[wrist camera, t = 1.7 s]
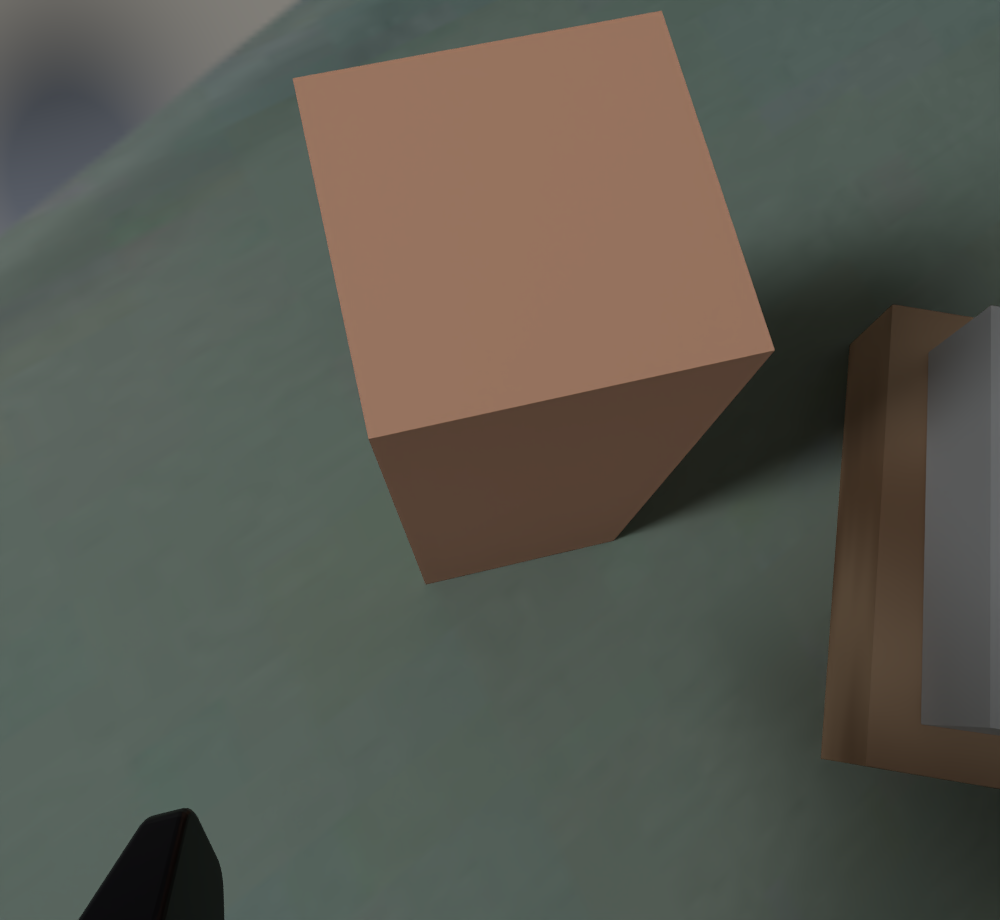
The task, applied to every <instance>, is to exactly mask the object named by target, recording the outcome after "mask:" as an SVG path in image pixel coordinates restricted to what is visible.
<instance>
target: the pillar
mask: <svg viewBox="0 0 1000 920" xmlns="http://www.w3.org/2000/svg"><path fill="white" fill-rule="evenodd" d="M293 82H294V86H295V91H296V96H297V101H298V105H299V110H300V115H301V120H302V124H303V129H304V134H305V139H306V144H307V148H308V153H309V158H310V163H311V167H312V172H313V177H314V182H315V186H316V191H317V196H318V201H319V205H320V210H321V215H322V220H323V224H324V229H325V234H326V239H327V243H328V248H329V253H330V258H331V262H332V267H333V272H334V277H335V281H336V286H337V291H338V296H339V300H340V305H341V310H342V315H343V319H344V324H345V329H346V334H347V338H348V343H349V348H350V353H351V357H352V362H353V367H354V372H355V376H356V381H357V386H358V391H359V395H360V400H361V405H362V410H363V414H364V419H365V424H366V429H367V433H368V438H369V441H370V444H371V446H372V449H373V451H374V454H375V456H376V459H377V461H378V464H379V467H380V469H381V472H382V474H383V477H384V479H385V482H386V484H387V487H388V489H389V492H390V495H391V497H392V500H393V502H394V505H395V507H396V510H397V512H398V515H399V517H400V520H401V522H402V525H403V528H404V530H405V533H406V535H407V538H408V540H409V543H410V545H411V548H412V550H413V553H414V556H415V558H416V561H417V563H418V566H419V568H420V571H421V573H422V576H423V578H424V581H425V584H430V583H434V582H438V581H443V580H447V579H451V578H455V577H460V576H464V575H468V574H473V573H477V572H481V571H485V570H490V569H494V568H498V567H503V566H507V565H511V564H515V563H520V562H524V561H528V560H533V559H537V558H541V557H545V556H550V555H554V554H558V553H563V552H567V551H571V550H575V549H580V548H584V547H588V546H593V545H597V544H601V543H605V542H610V541H614V540H615V538H616V537H617V536H618V535H619V534H620V532H621V531H622V530H623V529H624V528H625V527H626V525H627V524H628V523H629V522H630V521H631V519H632V518H633V517H634V516H635V515H636V514H637V512H638V511H639V510H640V509H641V508H642V507H643V505H644V504H645V503H646V502H647V501H648V499H649V498H650V497H651V496H652V495H653V494H654V492H655V491H656V490H657V489H658V488H659V486H660V485H661V484H662V483H663V482H664V481H665V479H666V478H667V477H668V476H669V475H670V473H671V472H672V471H673V470H674V469H675V468H676V466H677V465H678V464H679V463H680V462H681V460H682V459H683V458H684V457H685V456H686V455H687V453H688V452H689V451H690V450H691V449H692V447H693V446H694V445H695V444H696V443H697V442H698V440H699V439H700V438H701V437H702V436H703V434H704V433H705V432H706V431H707V430H708V429H709V427H710V426H711V425H712V424H713V423H714V421H715V420H716V419H717V418H718V417H719V416H720V414H721V413H722V412H723V411H724V410H725V408H726V407H727V406H728V405H729V404H730V403H731V401H732V400H733V399H734V398H735V397H736V396H737V394H738V393H739V392H740V391H741V390H742V388H743V387H744V386H745V385H746V384H747V383H748V381H749V380H750V379H751V378H752V377H753V375H754V374H755V373H756V372H757V371H758V370H759V368H760V367H761V366H762V365H763V364H764V362H765V361H766V360H767V359H768V358H769V357H770V355H771V354H772V353H773V352H774V351H775V349H774V346H773V343H772V340H771V337H770V334H769V331H768V328H767V325H766V322H765V319H764V316H763V313H762V310H761V307H760V304H759V301H758V298H757V295H756V292H755V289H754V286H753V283H752V280H751V277H750V274H749V271H748V268H747V265H746V262H745V259H744V256H743V253H742V250H741V247H740V244H739V241H738V238H737V235H736V232H735V229H734V226H733V223H732V220H731V217H730V214H729V211H728V208H727V205H726V202H725V199H724V196H723V193H722V190H721V187H720V184H719V181H718V178H717V175H716V172H715V169H714V166H713V163H712V160H711V157H710V154H709V151H708V148H707V145H706V142H705V139H704V136H703V133H702V130H701V127H700V124H699V121H698V118H697V115H696V112H695V109H694V106H693V103H692V100H691V97H690V94H689V91H688V88H687V85H686V82H685V79H684V76H683V73H682V70H681V67H680V64H679V61H678V58H677V55H676V52H675V49H674V46H673V43H672V40H671V38H670V35H669V32H668V29H667V26H666V23H665V20H664V17H663V14H662V11H658V12H653V13H647V14H642V15H636V16H631V17H625V18H620V19H614V20H609V21H603V22H598V23H592V24H587V25H582V26H576V27H571V28H565V29H560V30H554V31H549V32H543V33H538V34H532V35H527V36H522V37H516V38H511V39H505V40H500V41H494V42H489V43H483V44H478V45H472V46H467V47H461V48H456V49H451V50H445V51H440V52H434V53H429V54H423V55H418V56H412V57H407V58H401V59H396V60H391V61H385V62H380V63H374V64H369V65H363V66H358V67H352V68H347V69H341V70H336V71H331V72H325V73H320V74H314V75H309V76H303V77H298V78H293Z"/></svg>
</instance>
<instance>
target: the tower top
mask: <svg viewBox="0 0 1000 920" xmlns="http://www.w3.org/2000/svg"><path fill="white" fill-rule="evenodd" d="M921 724H922V725H929V726H936V727H943V728H950V729H956V730H963V731H970V732H977V733H984V734H991V735H998V736H1000V307H999V306H992V305H991V306H989V307H988V308H987V309H985V310H984V311H983V312H981V313H980V314H979V315H977V316H976V317H975V318H973V319H972V320H971V321H969V322H968V323H967V324H965V325H964V326H963V327H961V328H960V329H959V330H957V331H956V332H955V333H954V334H952V335H951V336H950V337H948V338H947V339H946V340H944V341H943V342H942V343H940V344H939V345H938V346H936V347H935V348H934V349H932V350H931V351H930V352H928V401H927V450H926V498H925V547H924V596H923V645H922V693H921Z"/></svg>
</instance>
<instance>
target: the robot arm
mask: <svg viewBox="0 0 1000 920" xmlns="http://www.w3.org/2000/svg"><path fill="white" fill-rule="evenodd" d="M79 920H224V893H223V878H222V872H221V867H220V864H219V861H218V859H217V856H216V854H215V852H214V850H213V848H212V846H211V844H210V842H209V840H208V838H207V836H206V834H205V832H204V830H203V827H202V825H201V823H200V821H199V819H198V817H197V816H196V814H195V813H194V812H193V811H192V810H191V809H189V808H182V809H178V810H174V811H170V812H166V813H162V814H158V815H154V816H151V817H149V818H147V819H146V820H145V821H144V822H143V823H142V824H141V825H140V826H139V828H138V829H137V831H136V833H135V834H134V836H133V837H132V839H131V840H130V842H129V843H128V845H127V846H126V848H125V849H124V851H123V852H122V854H121V855H120V857H119V859H118V860H117V862H116V863H115V865H114V866H113V868H112V869H111V871H110V872H109V874H108V875H107V877H106V878H105V880H104V881H103V883H102V885H101V886H100V888H99V889H98V891H97V892H96V894H95V895H94V897H93V898H92V900H91V901H90V903H89V904H88V906H87V907H86V909H85V911H84V912H83V914H82V915H81V917H80V918H79Z"/></svg>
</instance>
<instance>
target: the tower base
mask: <svg viewBox="0 0 1000 920" xmlns="http://www.w3.org/2000/svg"><path fill="white" fill-rule="evenodd" d="M972 319H973V317H967V316H961V315H955V314H949V313H943V312H937V311H931V310H924V309H918V308H912V307H906V306H900V305H894V304H892V305H891V306H890V307H889V308H888V309H887V310H886V311H885V312H884V313H883V314H882V315H881V316H880V317H879V318H878V319H877V320H876V321H874V322H873V323H872V324H871V325H870V326H869V327H868V328H867V329H866V330H865V331H864V332H863V333H862V334H861V335H860V336H859V337H858V338H857V339H855V340H854V341H853V342H852V343H851V344H850V349H849V363H848V377H847V392H846V406H845V420H844V435H843V449H842V463H841V478H840V492H839V506H838V521H837V535H836V550H835V564H834V578H833V593H832V607H831V621H830V636H829V650H828V664H827V679H826V693H825V708H824V722H823V736H822V751H821V759H826V760H832V761H838V762H844V763H850V764H856V765H861V766H867V767H873V768H879V769H885V770H891V771H897V772H903V773H909V774H914V775H920V776H926V777H932V778H938V779H944V780H950V781H956V782H962V783H967V784H973V785H979V786H985V787H991V788H997V789H1000V736H998V735H991V734H984V733H977V732H970V731H963V730H956V729H950V728H943V727H936V726H929V725H922V724H921V693H922V645H923V596H924V547H925V498H926V450H927V401H928V352H930V351H931V350H932V349H934V348H935V347H936V346H938V345H939V344H940V343H942V342H943V341H944V340H946V339H947V338H948V337H950V336H951V335H952V334H954V333H955V332H956V331H957V330H959V329H960V328H961V327H963V326H964V325H965V324H967V323H968V322H969V321H971V320H972Z"/></svg>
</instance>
